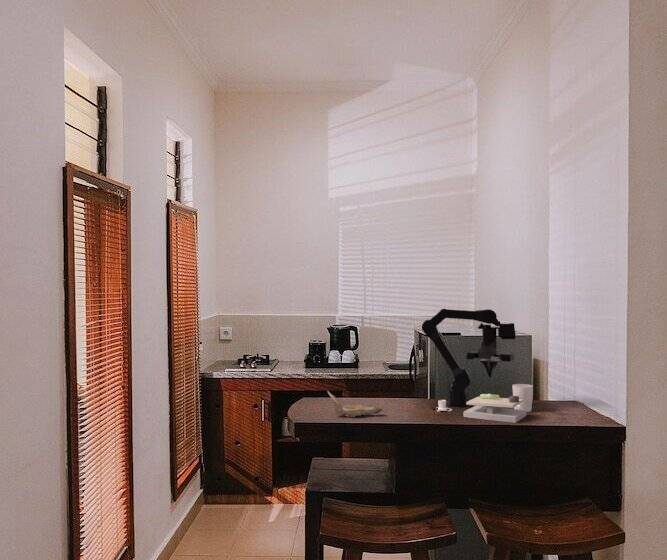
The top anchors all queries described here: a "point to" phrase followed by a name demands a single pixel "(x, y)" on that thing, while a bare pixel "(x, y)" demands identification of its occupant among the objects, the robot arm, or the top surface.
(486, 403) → the instrument plate
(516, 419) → the instrument base
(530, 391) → the white cup
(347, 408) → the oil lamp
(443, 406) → the teacup and saucer
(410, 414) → the top surface
